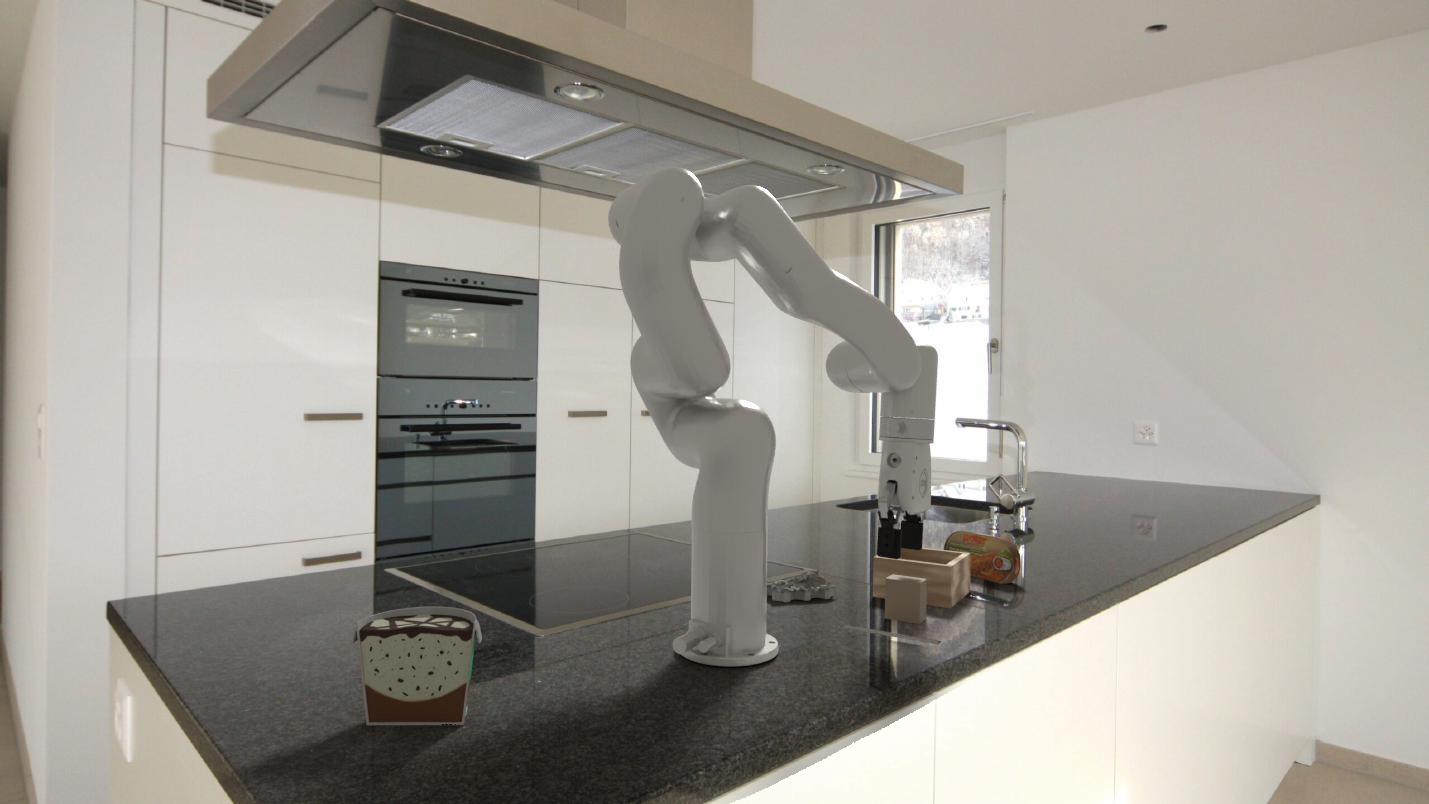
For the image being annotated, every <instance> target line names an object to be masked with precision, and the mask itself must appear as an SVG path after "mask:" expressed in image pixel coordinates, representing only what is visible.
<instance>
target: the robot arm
mask: <svg viewBox="0 0 1429 804" xmlns="http://www.w3.org/2000/svg"><path fill="white" fill-rule="evenodd" d="M611 203H612V204H611V205H610V207H609V211H608V217H607V219H608V221H607V222H608V226H609V227H608V228H609V231H610V233H611V235H612V237H613V238H614V240H615V242H616V243H617V244H618V245H619V246H620V249H619V256H618V257H619V260H618V272H619V281H620V286H621V290H622V293H623V295H624V299H625V302H626V303H627V306H628V308H629V310H630V313H631V316H632V318H633V319H634V323H635V324H636V328H638V331H639V333H640V336H639V338H637V340H636V342H635V343H634V345H633V347H632V349H631V355H630V365H629V366H630V374H631V377H632V380H633V383H634V386H635V388H636V390H637V392H638V394H639V396H640V398H641V400H642V402H643V404H644V405H645V408H646V410H647V412H648V413H649V415H650V418H651V420H652V421H653V423H654V425H655V427H656V429H657V431H658V433H659V435H660V437H661V439H662V440H663V442H664V443H665V446H666V447H667V449H668V451H669V452H670V453H671V454H672V456H674V458H675V459H676V460H677V461H679V462H680V463H681V464H683V465H685V466H688V467H690V468H694V469H697V470H698V475H697V477H696V478H697V480H696V483H695V487H694V491H693V495H692V496H693V497H692V504H691V523H690V524H691V568H690V569H691V571H690V574H691V575H690V577H691V578H690V579H691V580H690V583H691V584H690V585H691V586H690V619H689V620H688V630H687V631H686V633H684V634H682V635H680V636H677V637H675V638H674V639H673V641H672V648H673V651H674V652H675V653H676V654H679V655H681V656H682V657H684V658H685V659H687V660H689V661H692V662H695V663H697V664H701V665H707V666H715V667H716V666H717V667H745V666H747V667H748V666H753V665H759V664H763V663H766V662H768V661H770V660H772V659H774V658H775V657H776V656H777V655H778V654H779V641H778V640H777V638H775V637H774V636H772V635H770V634H768V633H767V614H768V613H767V610H768V609H767V607H768V606H767V601H768V600H767V599H768V595H767V582H768V535H769V533H768V529H769V527H768V518H769V517H768V514H769V512H768V511H769V510H768V509H769V507H768V506H769V493H770V492H769V491H770V481H771V478H772V477H771V476H772V471H773V466H774V465H773V464H774V460H775V455H776V448H777V447H776V446H777V444H776V443H777V437H776V431H775V427H774V424H773V422H772V420H771V418H770V417H769V415H768V414H767V413H766V412H765V410H763V409H762V408H761V407H760V406H759V405H757V404H755V403H753V402H750V401H748V400H745V399H740V398H729V397H728V398H723V397H716V395H715V393H717V392H718V391H720V390H721V389H722V388H724V386H725V385H726V383H727V382H728V380H729V378H730V375H731V370H732V369H731V367H732V366H731V358H730V354H729V351H728V349H727V347H726V345H725V343H724V341H723V338H722V337H721V334H720V333H719V330H718V328H717V326H716V324H715V322H714V320H713V318H712V316H711V314H710V312H709V310H708V307H707V306H706V303H705V301H704V299H703V297H702V295H701V293H700V291H699V288H698V286H697V283H696V281H695V278H694V275H693V271H692V265H691V264H692V261H693V262H705V263H706V262H707V263H708V262H709V263H716V262H717V263H721V262H727V261H730V260H734V259H736V260H737V261H738V262H739V264H740V265H741V266H742V267H743V268H744V269H745V271H747V273H748V274H749V276H750V277H752V279H753V280H754V281H755V282H756V284H758V286H759V287H760V288H761V289H762V291H763V292H764V293H765V294H766V296H767V297H768V298H769V299H770V300H771V302H772V303H773V304H774V306H775V307H776V308H777V309H778V310H780V311H781V312H783V313H784V314H786V315H789V316H790V317H793V318H795V319H798V320H799V321H804V322H806V323H809V324H813V325H815V326H818V327H821V328H823V329H824V330H825V329H826V330H828V331H830V332H831V333H833V334H835V335H837V336H838V337H839V338H841V340H842V339H843V340H844V341H841V342H839V343H837V344H836V345H835V346H834V347H832V349H831V350H830V351H829V353H828V355H827V357H826V360H825V372H826V374H827V378H829V380H830V382H831V383H832V384H833V385H834V386H835V387H837V388H838V389H840V390H842V391H844V392H847V393H855V394H860V393H861V394H871V393H877V394H878V393H881V395H880V413H879V416H880V417H879V432H878V441H881V442H882V441H883V445H882V451H881V459H880V465H879V477H878V478H879V479H878V488H877V489H878V491H877V492H878V493H877V502H878V503H877V504H878V511H877V517H878V520H877V527H878V528H877V543H876V556H879V557H885V558H891V559H899V558H900V557H901V548H905V549H913V550H921V549H922V548H923V537H924V521H925V520H924V519H925V515H924V513H925V512H927V511H928V510H929V509H930V508H931V506H932V505H931V504H932V453H931V444H934V442H935V441H934V440H935V424H936V423H935V420H936V406H937V405H936V403H937V389H938V388H937V385H938V367H939V355H938V351H937V349H936V348H935V347H934V346H932V345H930V344H924V343H916V342H915V339H914V338H913V337H912V335H911V333H910V332H909V331H908V330H907V328H906V327H905V325H904V324H903V323H902V322H901V320H900V319H899V318H898V316H896V314H895V313H894V312H893V310H892V309H890V308H889V307H888V306H887V304H885V303H884V302H883V301H882V300H881V299H879V297H876V296H875V295H874V294H873V293H871V292H869V291H868V290H867V289H865V288H863V287H861V286H860V285H859V284H857V283H856V282H854V281H852V280H851V279H849V278H848V277H846V276H845V275H843V274H842V273H839V272H837V271H835V269H833V268H832V267H831V266H830V265H828V263H827V262H826V261H825V260H824V259H823V257H822V256H821V255H820V254H819V253H818V251H817V250H816V248H815V247H814V246H813V245H812V243H811V242H810V241H809V239H808V238H807V237H806V236H805V234H804V233H803V232H802V231H801V229H800V228H799V226H797V224H796V223H795V222H794V220H793V219H792V218H791V217H790V215H789V214H788V213H787V212H786V210H785V209H784V208H783V206H782V205H781V204H780V203H779V202H778V200H777V199H776V198H775V197H774V196H773V194H771V193H770V192H769V191H768V190H767V189H765V188H763V187H762V186H758V185H755V184H746V185H745V184H744V185H741V186H737V187H734V188H732V189H730V190H729V189H728V190H727V191H725V192H722V193H720V194H718V195H715V196H714V197H711V198H710V197H705V193H704V190H703V187H702V184H701V182H700V181H699V179H698V178H697V177H696V176H695V174H694V173H692V172H691V171H690V170H688V169H686V168H684V167H680V166H667V167H662V168H660V169H657V170H655V171H653V172H651V173H649V174H647V175H645V176H644V177H642V178H641V179H639V180H638V181H637V182H635V183H634V184H632V185H630V186H629V187H627V188H625V189H624V190H622V192H620V193H619V194H618V195H617V196H616V197H615V198H614V200H613V201H612V202H611Z"/></svg>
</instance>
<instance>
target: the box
mask: <svg viewBox="0 0 1429 804" xmlns="http://www.w3.org/2000/svg"><path fill="white" fill-rule="evenodd" d="M872 566H873V569H872V570H873V571H872V577H873V581H872V584H873V585H872V597H873V598H878V599H884V600H885V578H887V577H889V576H891V575H892V574H894V575H901V576H908V577H916V578H923V579H927V602H926V606H931V607H932V606H933V607H938V608H945V609H952V608H953V607H954V606H955V605H956V604H957V603H959V602H960V601H961V600H963V599H964V597H966V596H967V595H968V594H969V593H971V576H970V568H971V553H966V552H957V551H948V550H944V549H938V548H930V547H922V549H921V550H913V549H905V548H901V557H900V558H899V559H891V558H885V557H879V556H877V555H875V556H873V564H872Z"/></svg>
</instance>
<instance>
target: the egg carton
mask: <svg viewBox="0 0 1429 804" xmlns="http://www.w3.org/2000/svg"><path fill="white" fill-rule="evenodd" d="M834 589H837V587H836V585H835V583H833V584H832V583H831V582H830V581H828V582H826V578H825V577H824V576H823V575H822V574H821V573H820V570H819V569H817V570H814V569H813V570H810V571H805V572H801V574H800V576H798V577H797V576H791V577H790V578H789V579H785V580H782V579H779V580H775V581H773V582H769V581H767V596H771V600H772V601H773V602H783V603H790V602H791V601H793V600H801V601H805V602H807V601H811V599H815V598H819V599H824V600H828V599H831V597H834V594H835V593H834V592H835V591H834Z"/></svg>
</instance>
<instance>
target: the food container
mask: <svg viewBox="0 0 1429 804" xmlns="http://www.w3.org/2000/svg"><path fill="white" fill-rule="evenodd" d="M481 631H482V630H481V626H480V622H479V621H478V620H477V616H476V615H475V613H474V612H471V611H470V610H466V609H463V608H458V607H451V606H450V607H449V606H448V607H447V606H417V607H415V606H414V607H405V608H399V609H392V610H388V611H382V612H380V613H375V614H373V615H369V616H366V617H363V618H362V619H360V620H358V621H357V622H356V626H355V628H354V629H353V631H352V636H351V641H350V643H351V644H354V643H355V642H357V645H358V656H359V657H358V658H359V666H360V675H361V685H362V686H361V687H362V695H363V706H364V714H365V715H364V716H365V724H366V726H446V725H445V724H448V725H447V726H450V725H449V724H452V725H451V726H464V725H465V723H466V722H467V716H468V708H469V700H470V699H469V697H470V688H471V680H472V671H473V662H474V654H475V653H474V652H475V642H476V638H477V643H478V644H481V642H482V640H483V637H482V632H481ZM442 724H444V725H442ZM455 724H456V725H455Z"/></svg>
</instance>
